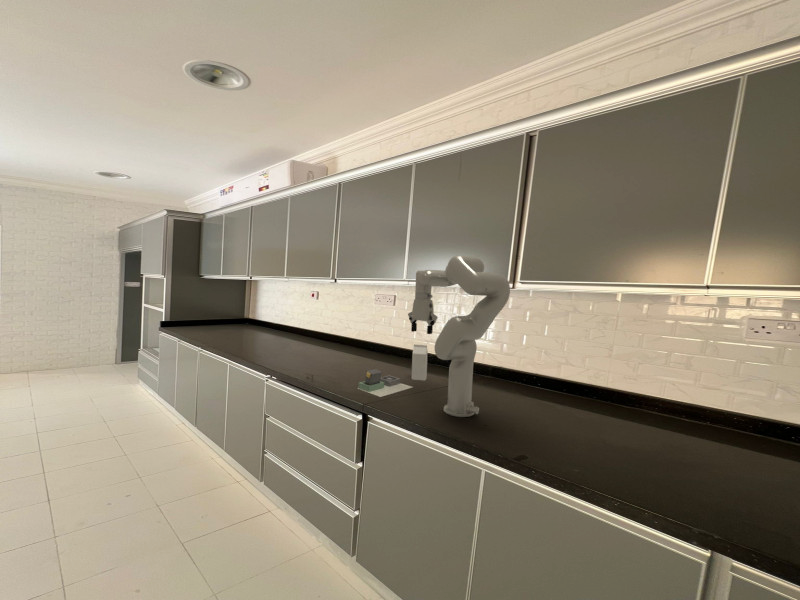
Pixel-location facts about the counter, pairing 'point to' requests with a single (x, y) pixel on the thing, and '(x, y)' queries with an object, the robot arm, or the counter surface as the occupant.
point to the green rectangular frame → (371, 386)
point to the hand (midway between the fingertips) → (421, 332)
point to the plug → (373, 377)
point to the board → (389, 386)
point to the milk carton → (419, 362)
